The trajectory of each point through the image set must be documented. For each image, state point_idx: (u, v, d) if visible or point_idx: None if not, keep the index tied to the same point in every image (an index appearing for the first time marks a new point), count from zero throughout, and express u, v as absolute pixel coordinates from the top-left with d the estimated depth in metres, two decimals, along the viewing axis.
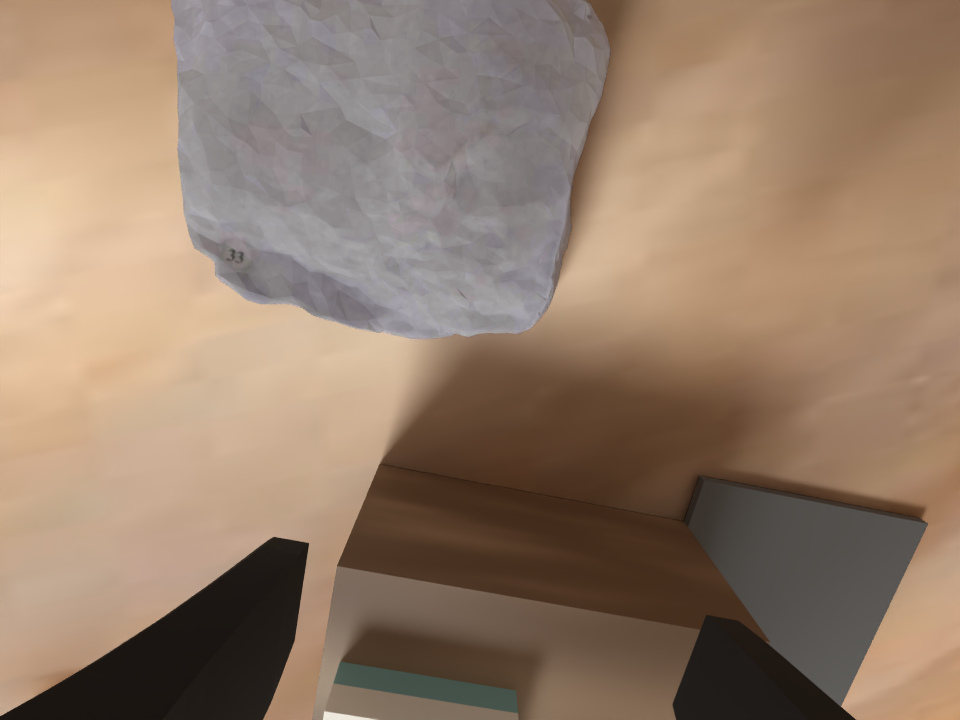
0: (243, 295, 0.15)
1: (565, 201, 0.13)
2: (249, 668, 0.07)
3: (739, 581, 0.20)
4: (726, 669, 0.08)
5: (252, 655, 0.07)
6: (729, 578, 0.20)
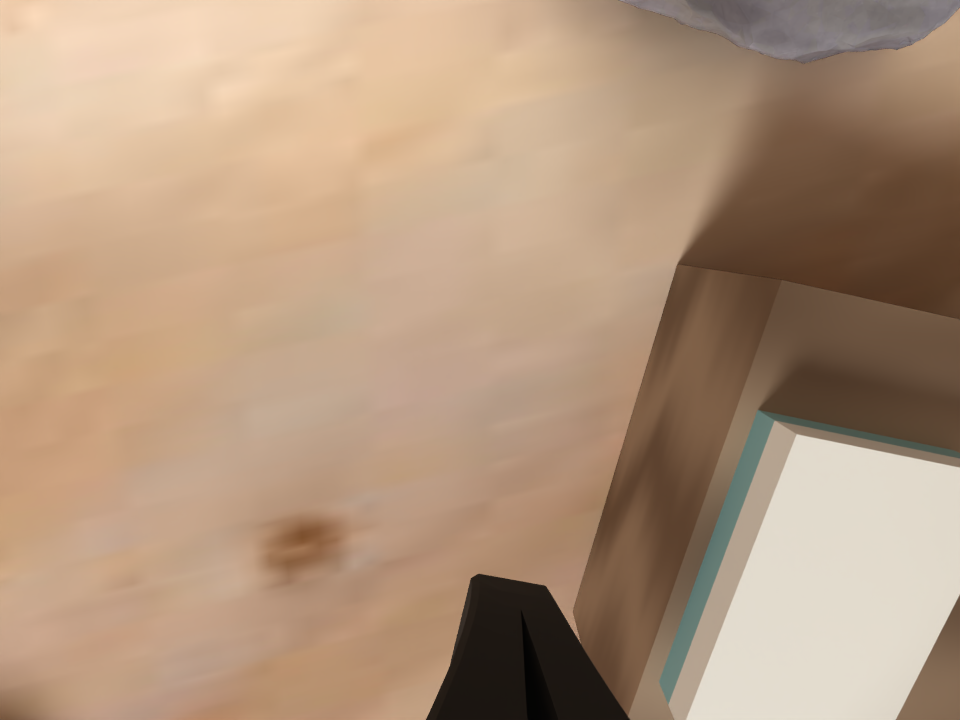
0: None
1: None
2: None
3: None
4: None
5: None
6: None
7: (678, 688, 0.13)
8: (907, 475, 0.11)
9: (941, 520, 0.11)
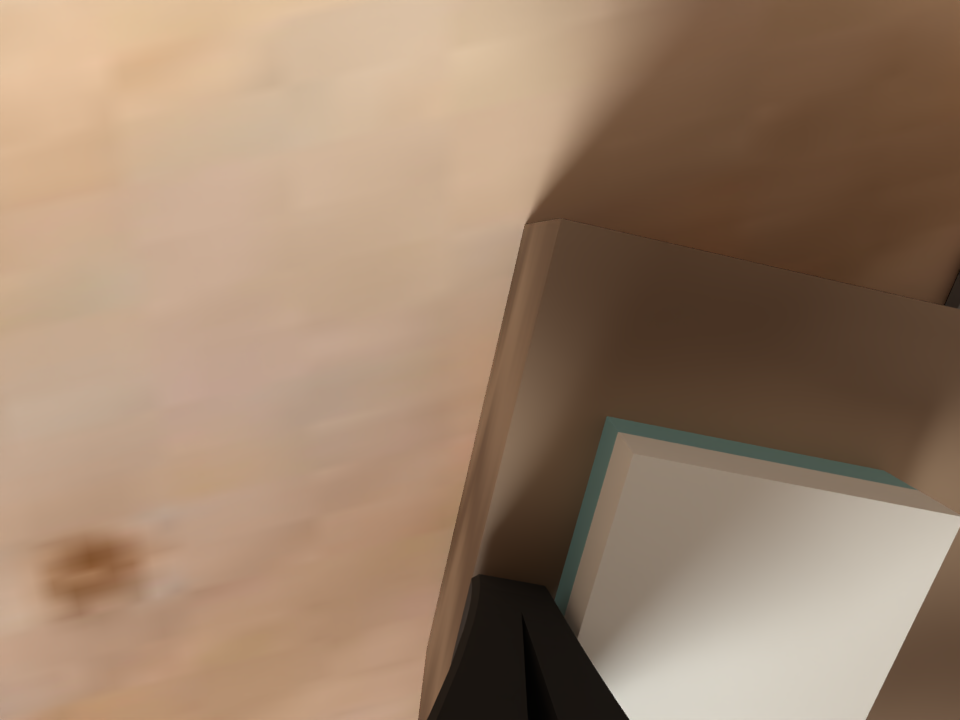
0: None
1: None
2: None
3: None
4: None
5: None
6: None
7: None
8: (801, 512, 0.07)
9: (854, 576, 0.08)
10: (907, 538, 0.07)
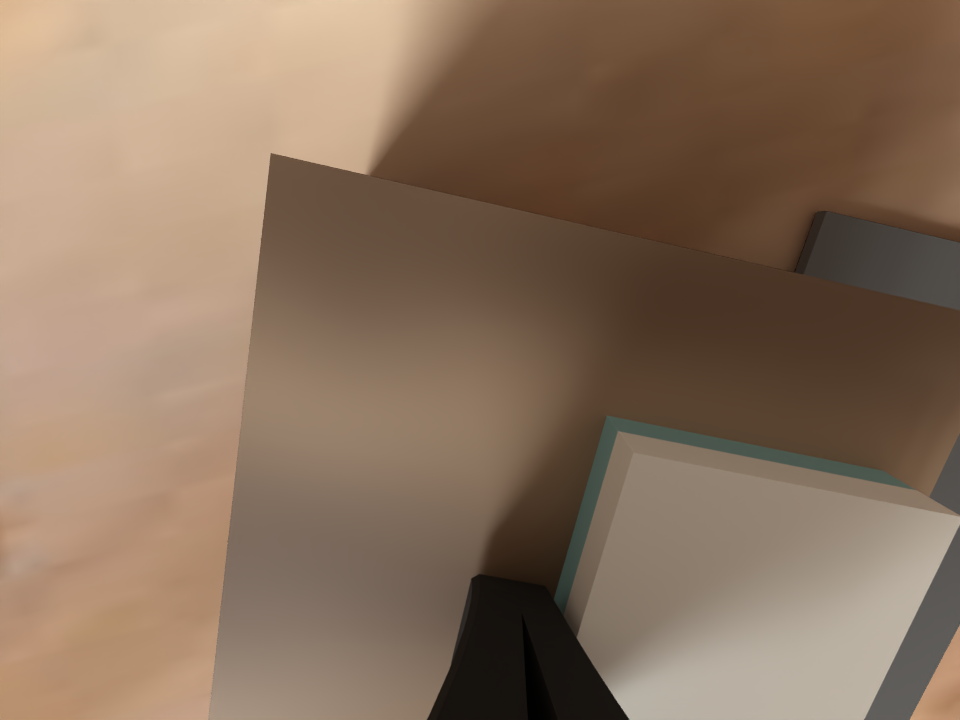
0: None
1: None
2: None
3: None
4: None
5: None
6: None
7: None
8: (800, 512, 0.07)
9: (853, 575, 0.08)
10: (906, 538, 0.07)
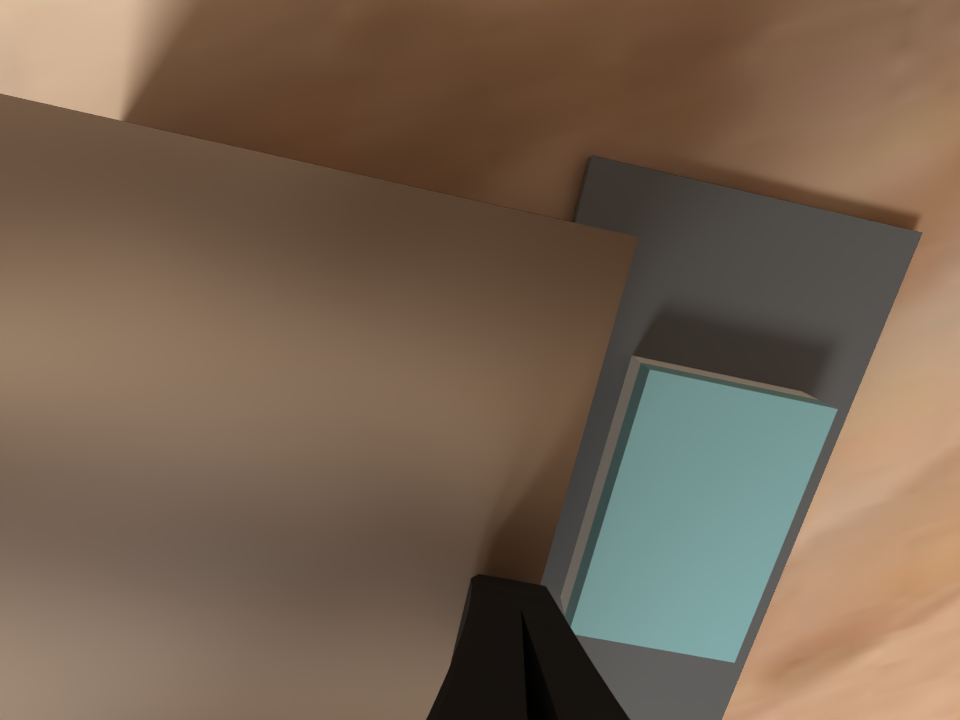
0: None
1: None
2: None
3: (650, 327, 0.14)
4: None
5: None
6: (636, 322, 0.14)
7: None
8: None
9: None
10: None
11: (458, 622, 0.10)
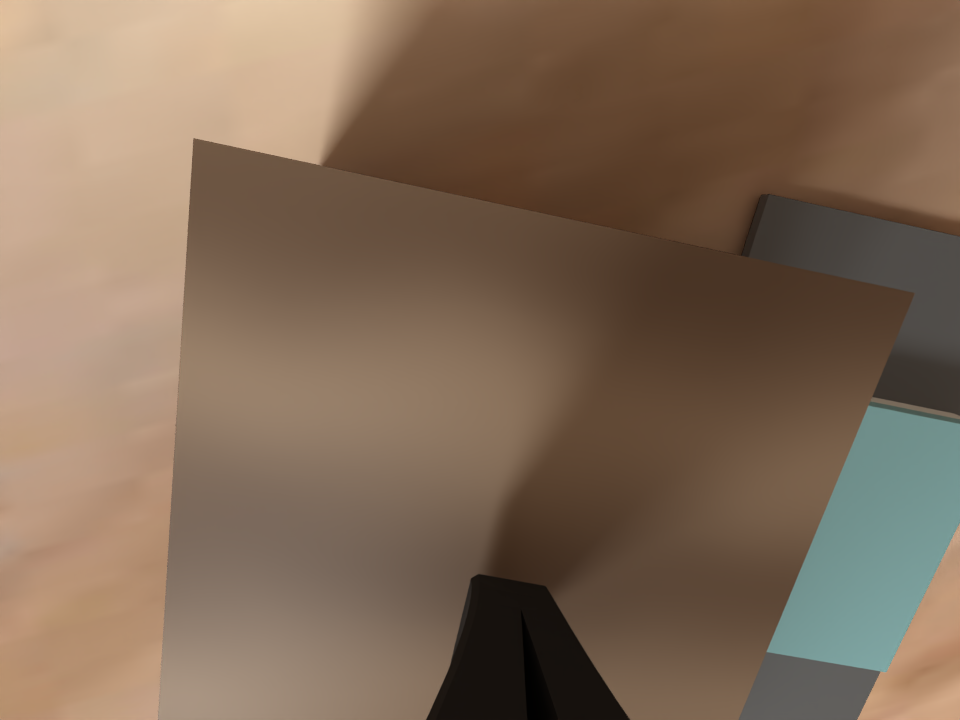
0: None
1: None
2: None
3: None
4: None
5: None
6: None
7: None
8: None
9: None
10: None
11: (704, 643, 0.10)
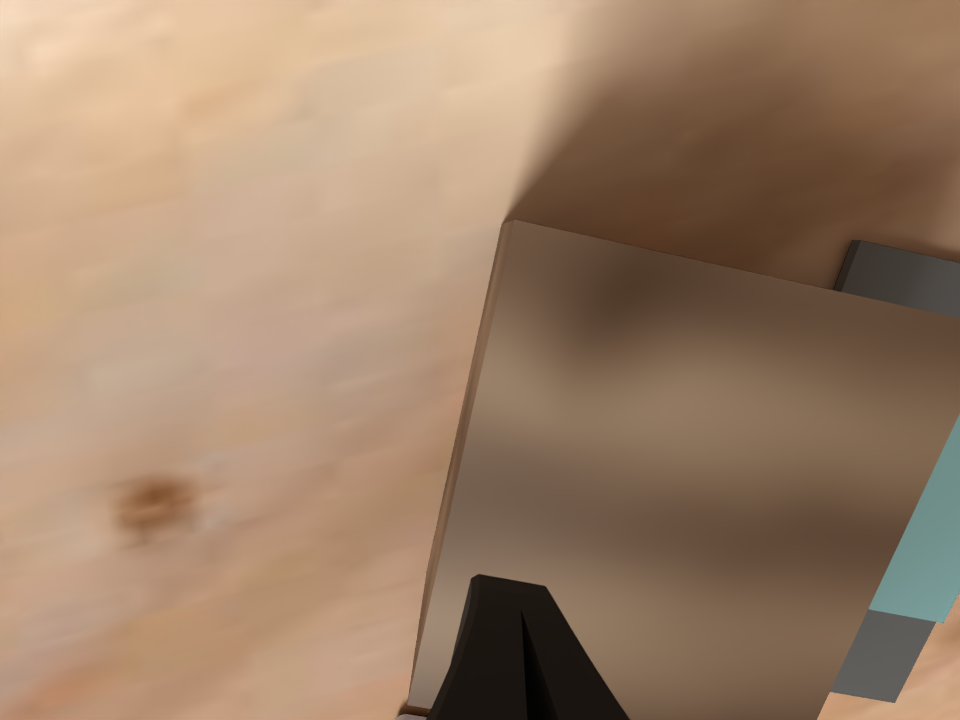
0: None
1: None
2: None
3: None
4: None
5: None
6: None
7: None
8: None
9: None
10: None
11: (833, 580, 0.14)
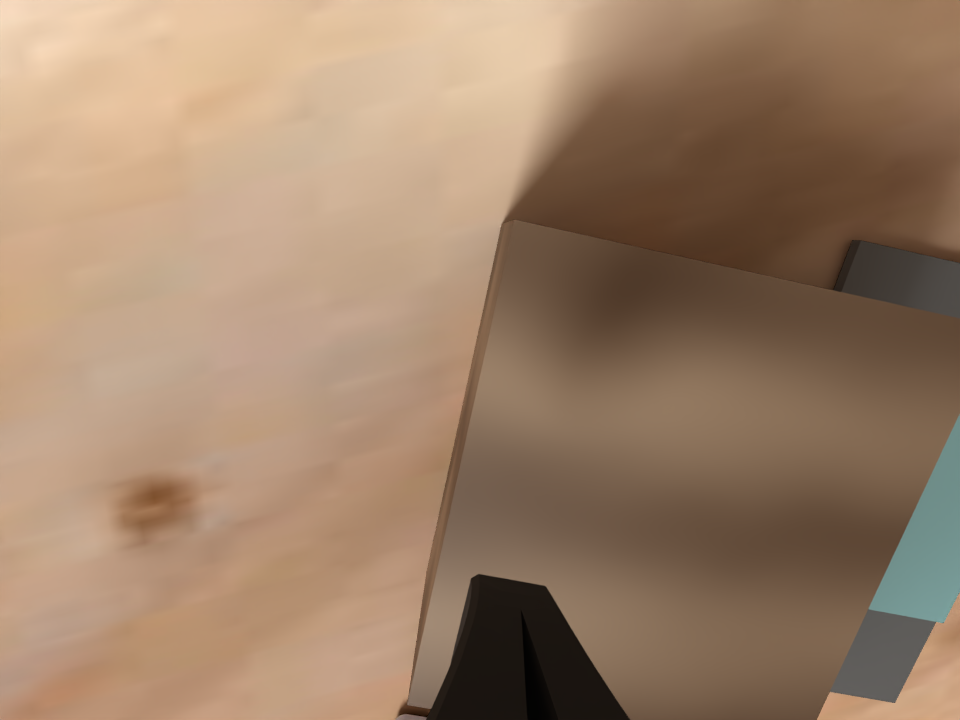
0: None
1: None
2: None
3: None
4: None
5: None
6: None
7: None
8: None
9: None
10: None
11: (833, 580, 0.14)
